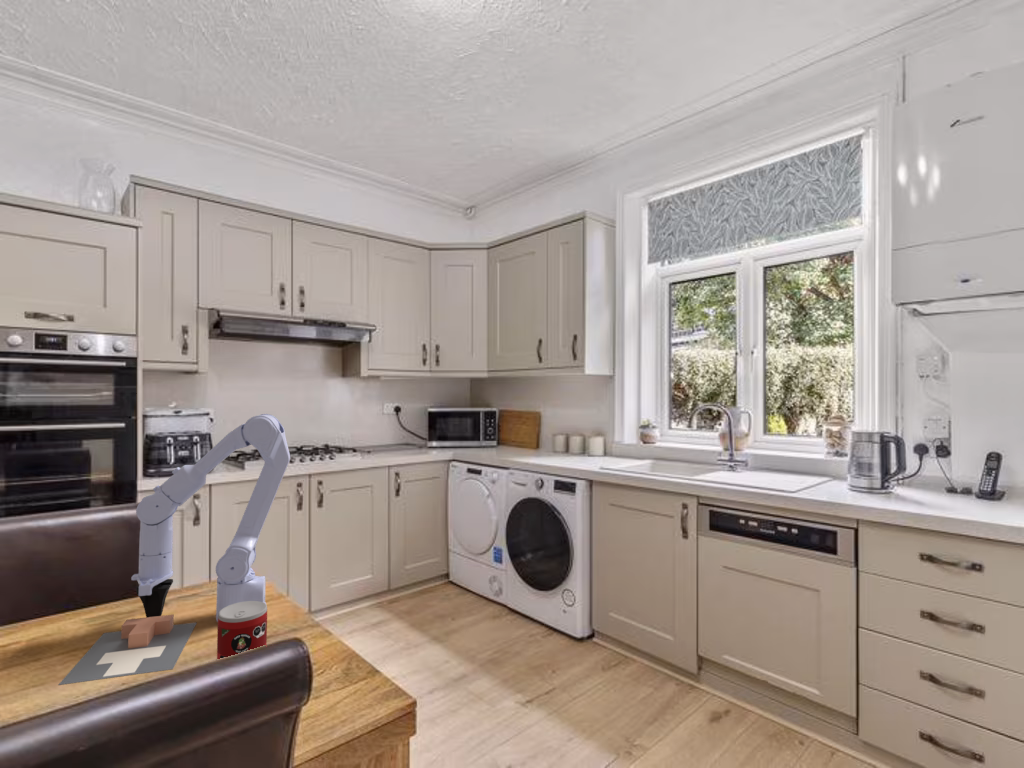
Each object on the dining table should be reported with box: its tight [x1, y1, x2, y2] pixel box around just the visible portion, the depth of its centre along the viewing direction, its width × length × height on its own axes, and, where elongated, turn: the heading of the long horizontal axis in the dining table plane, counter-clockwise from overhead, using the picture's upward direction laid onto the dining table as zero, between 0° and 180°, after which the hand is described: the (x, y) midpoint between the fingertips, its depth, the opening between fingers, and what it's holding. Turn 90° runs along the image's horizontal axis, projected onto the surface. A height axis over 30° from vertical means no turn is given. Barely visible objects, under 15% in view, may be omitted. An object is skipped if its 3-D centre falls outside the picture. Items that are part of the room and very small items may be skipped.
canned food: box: [216, 601, 268, 660], centre depth 93 cm, size 8×8×11 cm
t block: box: [120, 614, 175, 649], centre depth 104 cm, size 8×8×2 cm
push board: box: [58, 621, 197, 686], centre depth 99 cm, size 16×20×1 cm
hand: (154, 619), depth 110 cm, fingers closed
